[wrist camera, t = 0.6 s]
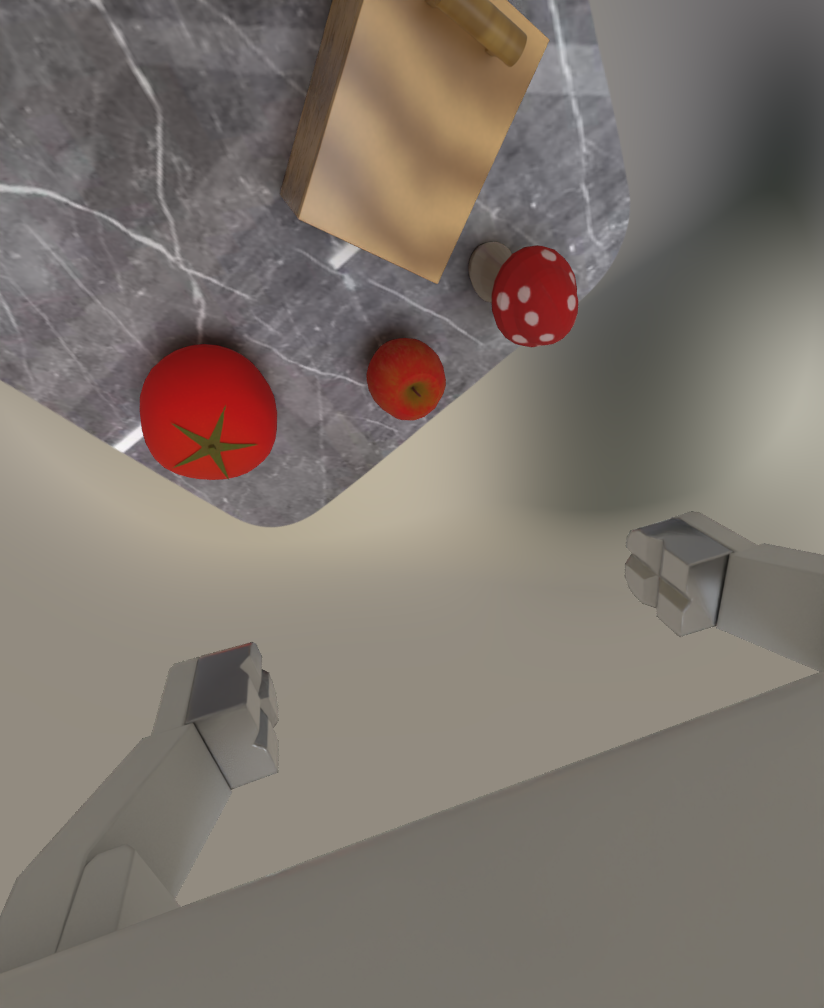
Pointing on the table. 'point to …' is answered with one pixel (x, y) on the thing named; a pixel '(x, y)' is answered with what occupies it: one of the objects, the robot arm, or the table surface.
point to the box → (318, 99)
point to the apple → (406, 378)
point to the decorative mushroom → (526, 292)
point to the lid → (418, 124)
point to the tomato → (208, 413)
